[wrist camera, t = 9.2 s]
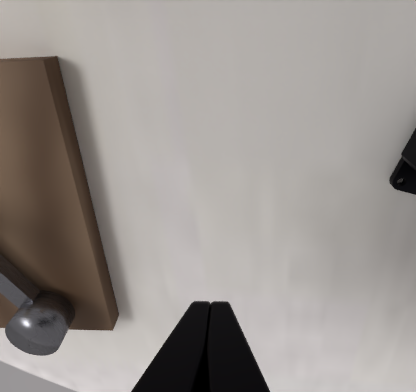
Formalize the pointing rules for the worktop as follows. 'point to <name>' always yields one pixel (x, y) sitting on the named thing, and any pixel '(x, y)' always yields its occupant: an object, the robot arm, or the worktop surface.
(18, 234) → the dial board
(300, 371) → the worktop surface
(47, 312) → the tuning lever
